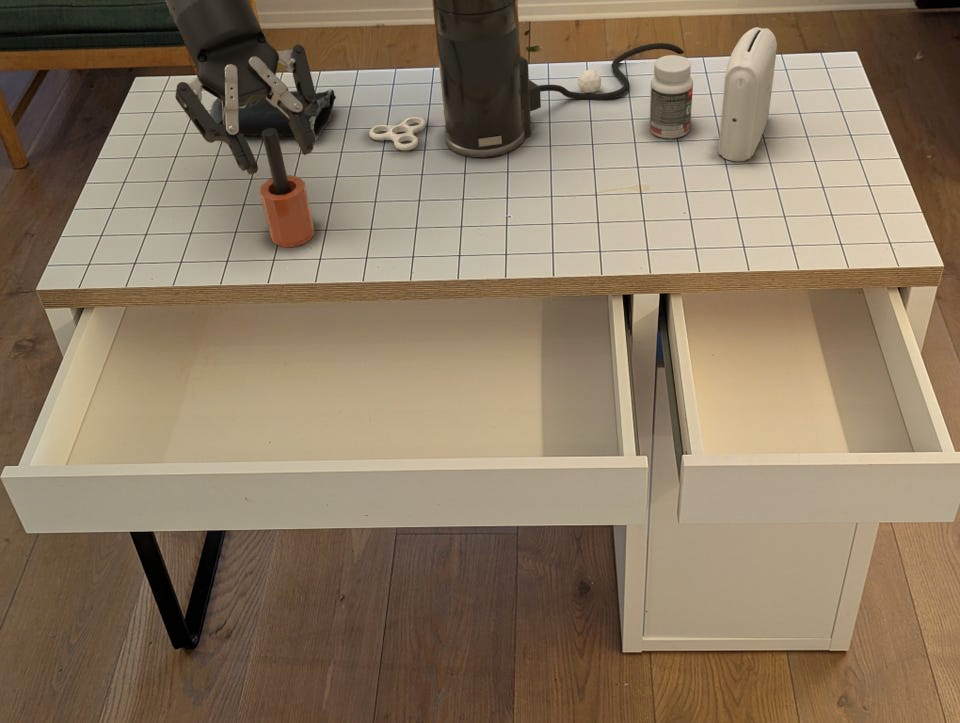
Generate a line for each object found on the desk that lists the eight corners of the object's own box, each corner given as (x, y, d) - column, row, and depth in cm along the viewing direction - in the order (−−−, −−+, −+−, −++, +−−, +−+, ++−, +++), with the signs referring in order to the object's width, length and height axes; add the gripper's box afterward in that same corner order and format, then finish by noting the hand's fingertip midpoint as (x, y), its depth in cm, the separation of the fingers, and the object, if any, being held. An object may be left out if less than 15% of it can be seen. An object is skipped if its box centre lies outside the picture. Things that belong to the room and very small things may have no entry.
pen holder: (303, 217, 118) (293, 170, 114) (321, 236, 115) (311, 189, 111) (264, 232, 116) (253, 185, 112) (282, 252, 113) (270, 204, 109)
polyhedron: (601, 86, 135) (601, 64, 133) (600, 98, 133) (601, 76, 131) (578, 87, 135) (578, 65, 133) (577, 98, 133) (577, 76, 131)
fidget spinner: (422, 119, 132) (421, 113, 131) (438, 144, 127) (437, 138, 126) (367, 132, 130) (366, 126, 130) (381, 157, 126) (380, 152, 125)
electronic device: (340, 114, 137) (228, 95, 139) (337, 78, 133) (221, 59, 134) (318, 161, 131) (201, 140, 133) (314, 125, 127) (194, 104, 129)
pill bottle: (693, 137, 124) (698, 70, 119) (653, 141, 124) (656, 74, 119) (685, 117, 128) (689, 51, 122) (645, 121, 128) (648, 55, 122)
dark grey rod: (295, 225, 116) (273, 126, 108) (301, 231, 115) (279, 132, 107) (282, 229, 115) (259, 131, 107) (288, 236, 114) (265, 137, 106)
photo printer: (751, 165, 119) (763, 62, 111) (713, 159, 121) (722, 56, 112) (771, 120, 126) (784, 19, 118) (735, 115, 127) (745, 15, 119)
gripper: (142, 11, 101) (218, 174, 102) (281, -30, 106) (353, 125, 107) (140, 44, 108) (211, 197, 109) (270, 4, 113) (338, 150, 114)
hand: (281, 160), depth 108 cm, fingers open, 5 cm apart
